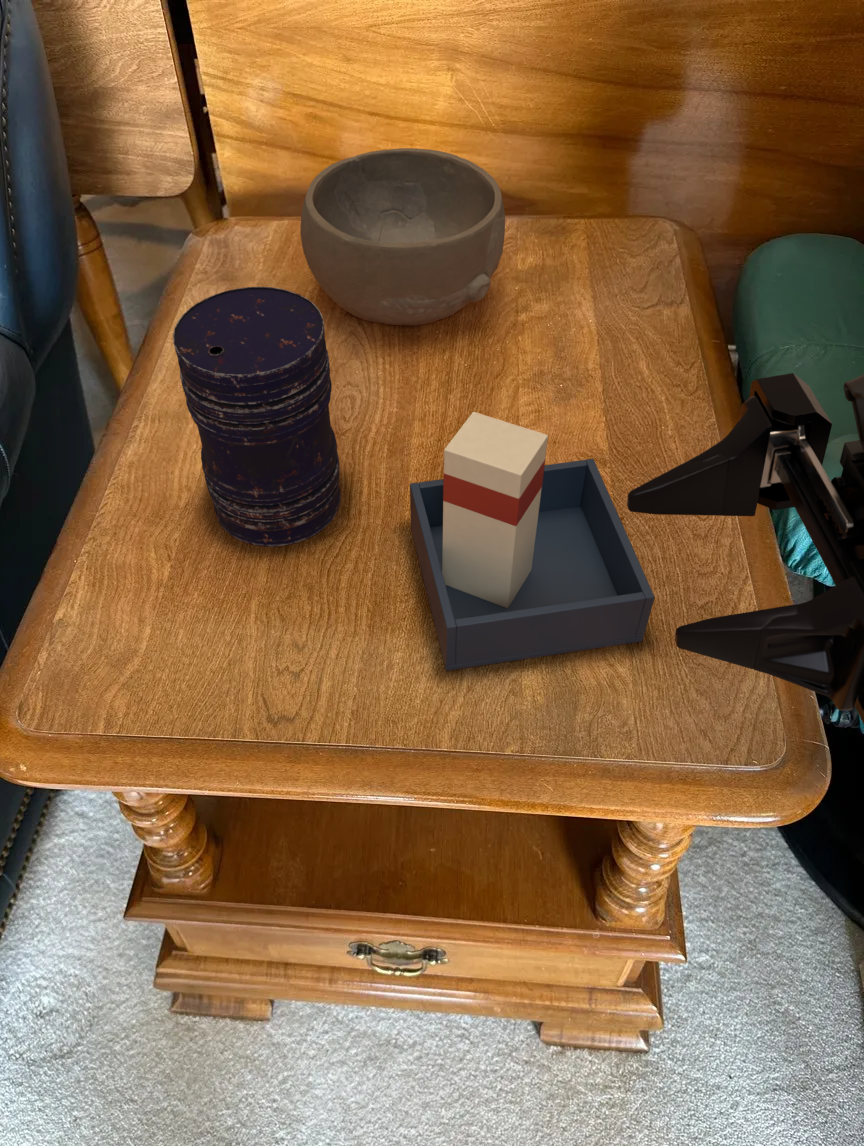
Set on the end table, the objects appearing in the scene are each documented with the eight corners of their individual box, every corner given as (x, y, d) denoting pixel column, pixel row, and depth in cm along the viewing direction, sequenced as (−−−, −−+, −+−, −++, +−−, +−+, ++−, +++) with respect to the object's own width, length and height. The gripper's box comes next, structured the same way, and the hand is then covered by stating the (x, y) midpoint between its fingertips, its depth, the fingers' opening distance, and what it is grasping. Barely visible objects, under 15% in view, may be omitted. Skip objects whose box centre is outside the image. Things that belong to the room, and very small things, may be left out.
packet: (532, 569, 66) (549, 434, 57) (507, 609, 64) (521, 475, 55) (466, 546, 68) (472, 410, 59) (441, 583, 66) (443, 449, 57)
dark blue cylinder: (277, 440, 77) (249, 269, 65) (369, 492, 73) (358, 319, 61) (185, 508, 72) (138, 338, 61) (278, 568, 68) (247, 397, 56)
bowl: (530, 325, 85) (540, 217, 77) (341, 371, 82) (332, 263, 74) (457, 232, 95) (459, 128, 88) (286, 270, 92) (273, 166, 84)
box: (585, 504, 71) (593, 458, 67) (642, 641, 63) (655, 597, 59) (410, 528, 70) (409, 483, 67) (445, 671, 62) (446, 627, 58)
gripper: (947, 251, 44) (611, 310, 46) (1196, 520, 32) (729, 591, 33) (888, 441, 53) (606, 487, 54) (1069, 712, 41) (699, 763, 42)
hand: (650, 565), depth 46 cm, fingers open, 9 cm apart
